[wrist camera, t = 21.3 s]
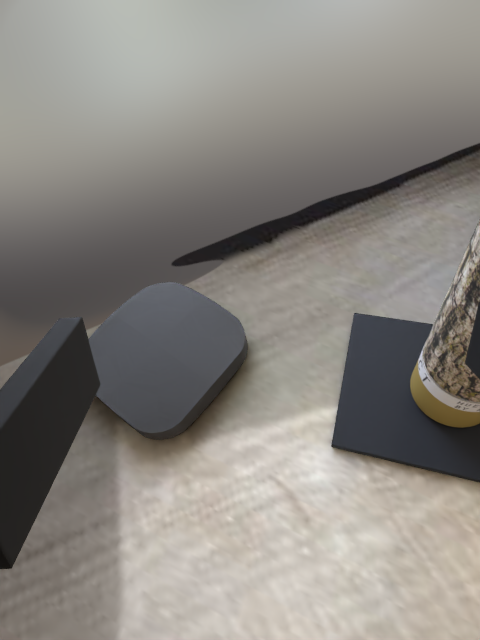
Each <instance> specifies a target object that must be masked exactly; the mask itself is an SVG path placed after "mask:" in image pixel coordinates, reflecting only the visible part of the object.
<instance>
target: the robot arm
mask: <svg viewBox="0 0 480 640" xmlns="http://www.w3.org/2000/svg"><path fill="white" fill-rule="evenodd" d="M465 364H466V365H467V366H468V367H469V368H470V369H471V371H472V372H473V373H474V374H475V375H476V376H477V377H478V378H479V379H480V300H479V304H478V308H477V313H476V317H475V321H474V325H473V330H472V334H471V338H470V343H469V347H468V351H467V355H466V360H465ZM100 385H101V384H100V380H99V376H98V373H97V369H96V366H95V362H94V358H93V355H92V351H91V347H90V344H89V340H88V337H87V333H86V329H85V326H84V322H83V319H82V317H76V318H60V319H58V321H57V322H56V323H55V324H54V326H53V327H52V328H51V329H50V330H49V332H48V333H47V334H46V335H45V336H44V338H43V339H42V340H41V341H40V342H39V344H38V345H37V346H36V347H35V349H34V350H33V351H32V352H31V353H30V354H29V356H28V357H27V358H26V359H25V360H24V362H23V363H22V364H21V365H20V366H19V368H18V369H17V370H16V371H15V372H14V374H13V375H12V376H11V377H10V378H9V380H8V381H7V382H6V383H5V385H4V386H3V387H2V388H1V389H0V569H10V568H12V567H13V564H14V562H15V560H16V558H17V556H18V554H19V552H20V550H21V548H22V546H23V544H24V542H25V540H26V538H27V536H28V533H29V531H30V529H31V527H32V525H33V523H34V521H35V519H36V517H37V515H38V513H39V511H40V509H41V507H42V505H43V502H44V500H45V498H46V496H47V494H48V492H49V490H50V488H51V486H52V484H53V482H54V480H55V478H56V476H57V474H58V471H59V469H60V467H61V465H62V463H63V461H64V459H65V457H66V455H67V453H68V451H69V449H70V447H71V445H72V443H73V440H74V438H75V436H76V434H77V432H78V430H79V428H80V426H81V424H82V422H83V420H84V418H85V416H86V414H87V412H88V409H89V407H90V405H91V403H92V401H93V399H94V397H95V395H96V393H97V391H98V389H99V387H100Z"/></svg>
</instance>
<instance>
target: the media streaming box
mask: <svg viewBox="0 0 480 640" xmlns="http://www.w3.org/2000/svg"><path fill="white" fill-rule="evenodd" d="M88 340H89V344H90V347H91V351H92V355H93V358H94V362H95V366H96V369H97V373H98V376H99V380H100V384H101V385H100V387H99V389H98V391H97V393H96V396H97V397H98V398H99V399H101V400H102V401H103V402H104V403H105V404H106V405H107V406H108V407H109V408H110V409H111V410H113V411H114V412H115V413H116V414H117V415H118V416H119V417H121V418H122V419H123V420H124V421H125V422H127V423H128V424H129V425H130V426H131V427H133V428H134V429H135V430H137V431H138V432H139V433H140V434H142V435H143V436H145V437H147V438H151V439H168V438H171V437H174V436H176V435H178V434H180V433H182V432H183V431H185V430H186V429H187V428H188V427H189V426H190V425H191V424H192V423H193V422H194V421H195V420H196V419H197V417H198V416H199V415H200V414H201V413H202V412H203V411H204V410H205V409H206V408H207V406H208V405H209V404H210V403H211V402H212V401H213V400H214V398H215V397H216V396H217V395H218V394H219V392H220V391H221V390H222V389H223V388H224V386H225V385H226V384H227V383H228V381H229V380H230V379H231V378H232V376H233V375H234V374H235V373H236V371H237V370H238V369H239V367H240V366H241V365H242V363H243V362H244V360H245V358H246V354H247V340H246V336H245V332H244V329H243V327H242V325H241V323H240V321H239V320H238V319H237V318H236V317H235V316H234V315H232V314H231V313H230V312H228V311H227V310H226V309H224V308H223V307H221V306H220V305H218V304H217V303H215V302H214V301H212V300H211V299H209V298H207V297H206V296H204V295H202V294H200V293H198V292H197V291H195V290H193V289H191V288H189V287H186V286H184V285H181V284H179V283H175V282H164V283H158V284H155V285H151V286H149V287H147V288H144V289H143V290H141V291H140V292H138V293H137V294H135V295H134V296H133V297H131V298H130V299H129V300H128V301H126V302H125V303H124V304H123V305H122V306H120V307H119V308H118V309H117V310H116V311H115V312H114V313H113V314H112V315H111V316H109V317H108V319H107V320H106V321H104V322H103V324H102V325H101V326H100V327H99V328H98V329H97V330H96V331H95V332H94V333H93V334H92V336H91V337H90V338H89V339H88Z"/></svg>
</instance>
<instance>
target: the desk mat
mask: <svg viewBox="0 0 480 640" xmlns="http://www.w3.org/2000/svg"><path fill="white" fill-rule="evenodd" d="M432 327H433V324H427V323H420V322H413V321H406V320H399V319H393V318H386V317H379V316H372V315H365V314H358V313H354V318H353V324H352V330H351V336H350V342H349V347H348V353H347V359H346V365H345V371H344V376H343V382H342V388H341V394H340V400H339V405H338V411H337V417H336V423H335V429H334V434H333V440H332V447H335V448H339V449H343V450H347V451H351V452H355V453H360V454H364V455H368V456H372V457H376V458H380V459H385V460H389V461H393V462H397V463H401V464H406V465H410V466H414V467H418V468H422V469H426V470H431V471H435V472H439V473H443V474H447V475H451V476H456V477H460V478H464V479H468V480H472V481H476V482H480V423H479V424H477V425H475V426H471V427H464V428H458V427H451V426H447V425H444V424H441V423H439V422H437V421H435V420H433V419H431V418H430V417H428V416H427V415H426V414H425V413H424V412H423V411H422V410H421V409H420V408H419V407H418V405H417V404H416V402H415V401H414V398H413V396H412V393H411V388H410V380H411V376H412V373H413V370H414V368H415V366H416V364H417V361H418V359H419V356H420V354H421V352H422V349H423V347H424V345H425V342H426V340H427V338H428V336H429V333H430V331H431V329H432Z"/></svg>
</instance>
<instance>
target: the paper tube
mask: <svg viewBox="0 0 480 640" xmlns="http://www.w3.org/2000/svg"><path fill="white" fill-rule="evenodd" d="M479 300H480V220H479V222H478V225H477V227H476V229H475V231H474V234H473V236H472V238H471V240H470V243H469V245H468V247H467V249H466V252H465V254H464V256H463V259H462V261H461V263H460V265H459V268H458V270H457V272H456V274H455V277H454V279H453V281H452V283H451V286H450V288H449V290H448V293H447V295H446V297H445V299H444V302H443V304H442V306H441V308H440V311H439V313H438V315H437V318H436V320H435V322H434V324H433V327H432V329H431V331H430V333H429V336H428V338H427V340H426V342H425V345H424V347H423V349H422V352H421V354H420V356H419V359H418V361H417V364H416V366H415V368H414V370H413V373H412V376H411V380H410V388H411V393H412V396H413V398H414V401H415V402H416V404H417V405H418V407H419V408H420V409H421V410H422V411H423V412H424V413H425V414H426V415H427V416H428V417H430V418H431V419H433V420H435V421H437V422H439V423H441V424H444V425H447V426H451V427H458V428H464V427H471V426H475V425H477V424H479V423H480V379H479V378H478V377H477V376H476V375H475V374H474V373H473V372H472V371H471V369H470V368H469V367H468V366H467V365H466V364H465V360H466V355H467V351H468V347H469V343H470V338H471V334H472V330H473V325H474V321H475V317H476V313H477V308H478V304H479Z"/></svg>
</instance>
